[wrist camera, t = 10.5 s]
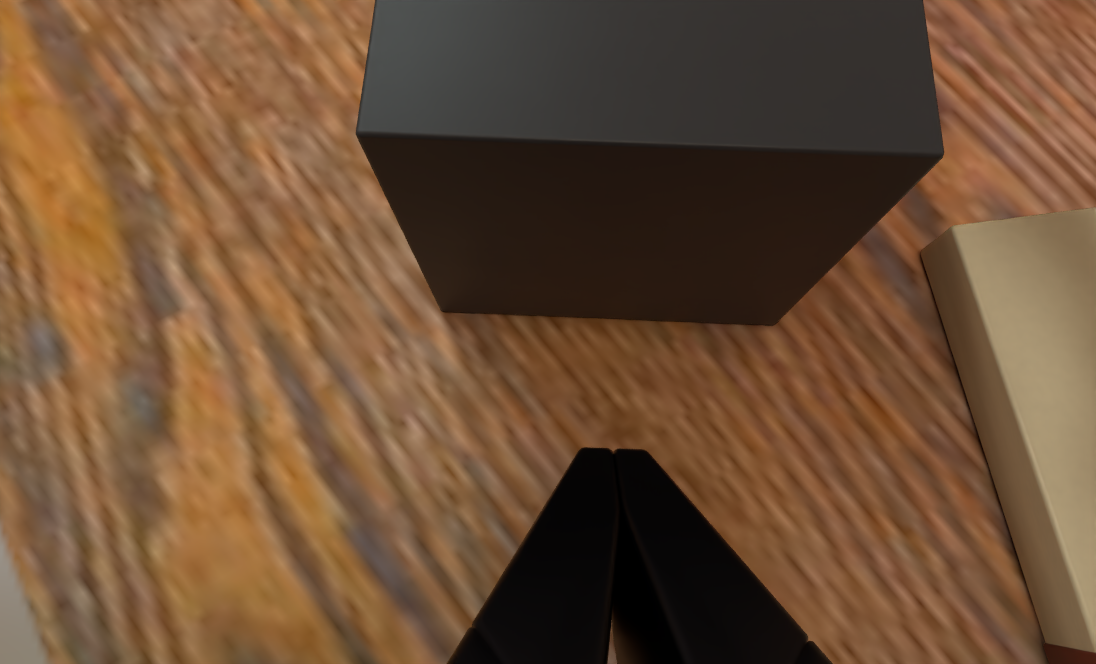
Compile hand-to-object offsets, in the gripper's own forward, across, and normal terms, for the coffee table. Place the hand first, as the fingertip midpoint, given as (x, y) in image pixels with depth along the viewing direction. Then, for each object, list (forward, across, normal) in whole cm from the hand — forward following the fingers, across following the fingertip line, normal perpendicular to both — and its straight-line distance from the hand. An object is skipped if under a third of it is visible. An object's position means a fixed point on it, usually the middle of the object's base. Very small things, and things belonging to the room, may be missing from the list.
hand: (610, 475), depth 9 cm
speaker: (+12, 0, -3) cm, 12 cm away
